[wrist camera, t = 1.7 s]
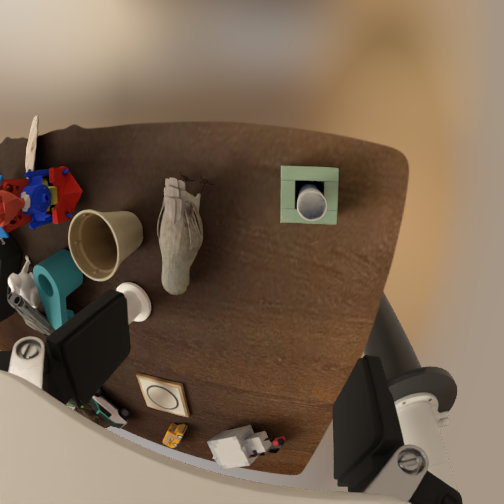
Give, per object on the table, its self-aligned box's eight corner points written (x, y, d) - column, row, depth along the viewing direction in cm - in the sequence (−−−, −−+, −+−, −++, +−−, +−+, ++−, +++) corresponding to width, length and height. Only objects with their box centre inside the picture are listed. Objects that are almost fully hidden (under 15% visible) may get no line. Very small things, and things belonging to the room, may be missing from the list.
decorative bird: (168, 279, 40) (143, 302, 33) (180, 170, 35) (151, 172, 27) (202, 289, 39) (181, 314, 32) (218, 176, 34) (196, 179, 27)
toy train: (34, 170, 39) (-26, 182, 25) (85, 159, 36) (11, 166, 22) (38, 221, 42) (-19, 242, 28) (89, 220, 39) (20, 247, 25)
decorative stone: (31, 186, 41) (23, 187, 39) (35, 121, 38) (27, 121, 36) (36, 181, 36) (27, 182, 34) (42, 109, 33) (33, 109, 32)
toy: (200, 439, 37) (291, 439, 37) (213, 410, 54) (281, 409, 54) (205, 492, 34) (289, 492, 34) (215, 455, 50) (280, 454, 51)
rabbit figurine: (25, 254, 46) (-5, 268, 37) (43, 261, 45) (10, 278, 36) (34, 300, 50) (7, 318, 41) (52, 310, 49) (23, 330, 40)
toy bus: (184, 436, 48) (168, 427, 48) (175, 450, 51) (161, 442, 52) (189, 426, 51) (174, 418, 51) (180, 441, 54) (166, 434, 55)
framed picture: (182, 383, 46) (180, 386, 45) (190, 415, 49) (188, 418, 48) (137, 372, 48) (135, 375, 47) (149, 404, 51) (147, 407, 50)
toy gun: (31, 328, 50) (71, 352, 49) (-18, 286, 33) (20, 313, 33) (36, 317, 52) (76, 339, 52) (-10, 272, 36) (28, 296, 35)
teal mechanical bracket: (58, 280, 35) (31, 257, 35) (63, 336, 42) (38, 314, 42) (83, 262, 41) (56, 242, 41) (82, 317, 48) (58, 298, 48)
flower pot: (113, 189, 37) (74, 198, 29) (161, 215, 37) (126, 230, 29) (100, 242, 40) (64, 259, 32) (144, 270, 40) (111, 294, 32)
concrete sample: (87, 430, 46) (86, 411, 48) (70, 420, 50) (69, 403, 52) (123, 430, 55) (122, 412, 57) (103, 421, 59) (102, 405, 61)
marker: (318, 182, 32) (327, 191, 20) (317, 200, 33) (326, 221, 20) (299, 181, 32) (296, 190, 20) (299, 200, 33) (296, 220, 21)
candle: (157, 318, 43) (63, 426, 19) (126, 320, 44) (34, 411, 21) (142, 279, 41) (26, 374, 17) (111, 283, 42) (3, 364, 19)
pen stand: (333, 167, 31) (338, 167, 26) (332, 216, 33) (336, 224, 28) (284, 166, 32) (280, 165, 27) (283, 214, 34) (280, 222, 29)
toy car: (126, 419, 56) (117, 433, 51) (90, 390, 55) (80, 402, 50) (133, 413, 54) (124, 427, 49) (95, 382, 53) (84, 395, 48)
